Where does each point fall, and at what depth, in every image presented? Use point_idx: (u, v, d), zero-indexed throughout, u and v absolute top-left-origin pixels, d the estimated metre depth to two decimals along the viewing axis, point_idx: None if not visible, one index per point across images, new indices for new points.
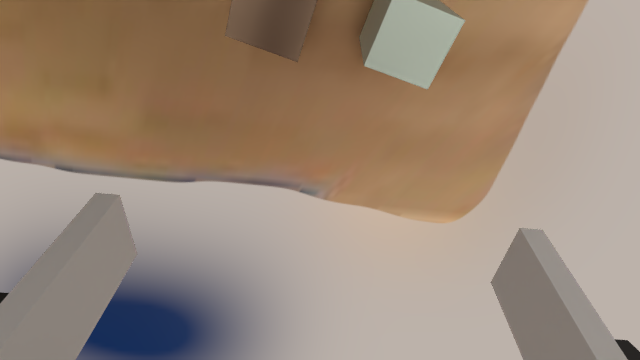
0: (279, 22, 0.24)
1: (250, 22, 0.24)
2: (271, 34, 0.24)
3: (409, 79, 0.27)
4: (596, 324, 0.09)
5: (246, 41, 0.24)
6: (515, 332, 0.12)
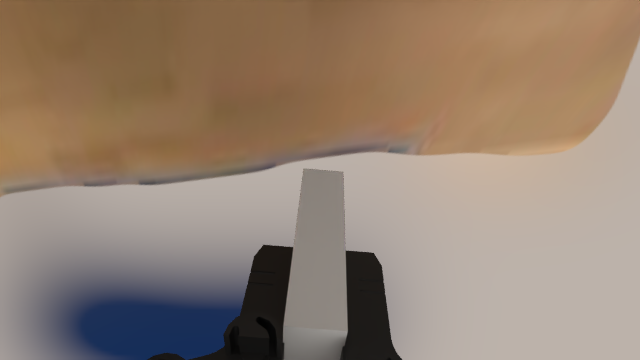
0: None
1: None
2: None
3: None
4: (337, 235, 0.11)
5: None
6: None
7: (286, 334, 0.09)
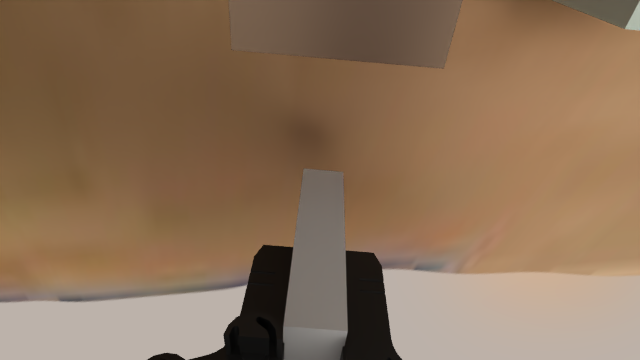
0: None
1: None
2: (360, 9, 0.08)
3: None
4: (337, 235, 0.11)
5: (293, 50, 0.09)
6: None
7: (286, 334, 0.09)
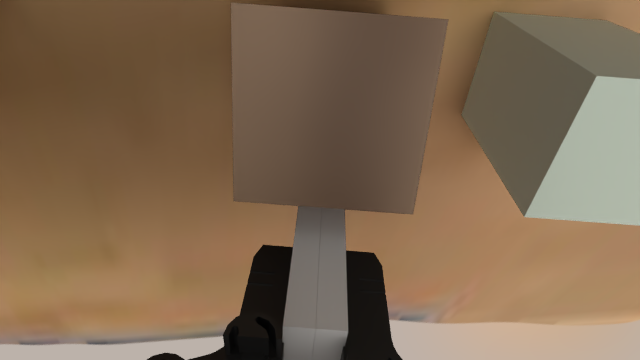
0: (354, 140, 0.10)
1: (286, 157, 0.10)
2: (340, 171, 0.10)
3: (626, 220, 0.13)
4: (338, 235, 0.11)
5: (285, 200, 0.10)
6: None
7: (285, 334, 0.09)
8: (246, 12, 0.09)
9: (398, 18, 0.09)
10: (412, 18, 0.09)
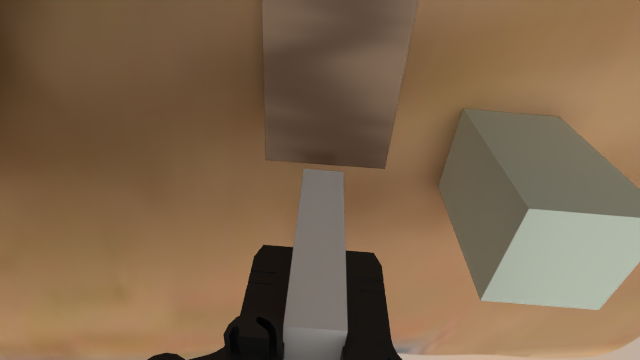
0: None
1: None
2: None
3: (564, 304, 0.15)
4: (337, 235, 0.11)
5: None
6: None
7: (286, 334, 0.09)
8: None
9: None
10: None
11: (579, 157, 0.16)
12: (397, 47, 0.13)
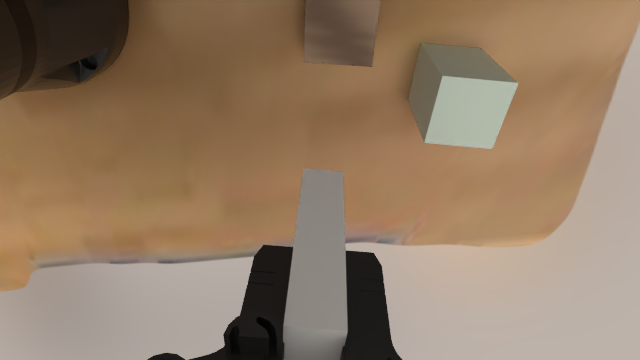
0: None
1: None
2: None
3: (471, 144, 0.27)
4: (337, 235, 0.11)
5: None
6: None
7: (286, 334, 0.09)
8: None
9: None
10: None
11: (482, 62, 0.27)
12: None
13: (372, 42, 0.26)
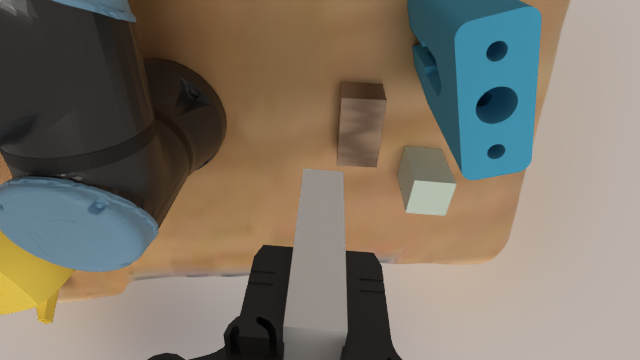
0: (368, 92, 0.43)
1: (353, 93, 0.42)
2: (366, 95, 0.42)
3: (433, 213, 0.47)
4: (337, 235, 0.11)
5: (354, 98, 0.41)
6: None
7: (286, 334, 0.09)
8: (344, 82, 0.45)
9: None
10: None
11: (439, 165, 0.47)
12: (378, 131, 0.44)
13: (376, 155, 0.46)
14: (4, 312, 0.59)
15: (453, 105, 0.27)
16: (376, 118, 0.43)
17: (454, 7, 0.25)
